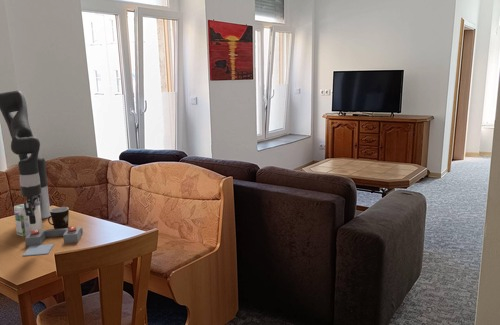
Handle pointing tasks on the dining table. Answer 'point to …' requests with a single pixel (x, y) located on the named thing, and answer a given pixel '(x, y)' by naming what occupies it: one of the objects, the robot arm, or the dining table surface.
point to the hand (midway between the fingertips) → (35, 221)
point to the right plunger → (71, 229)
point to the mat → (38, 250)
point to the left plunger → (34, 232)
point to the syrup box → (21, 220)
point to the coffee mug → (59, 217)
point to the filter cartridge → (38, 219)
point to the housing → (54, 232)
